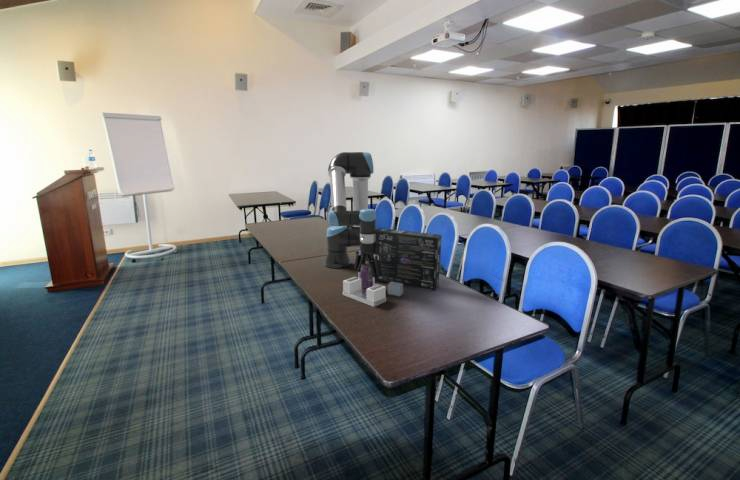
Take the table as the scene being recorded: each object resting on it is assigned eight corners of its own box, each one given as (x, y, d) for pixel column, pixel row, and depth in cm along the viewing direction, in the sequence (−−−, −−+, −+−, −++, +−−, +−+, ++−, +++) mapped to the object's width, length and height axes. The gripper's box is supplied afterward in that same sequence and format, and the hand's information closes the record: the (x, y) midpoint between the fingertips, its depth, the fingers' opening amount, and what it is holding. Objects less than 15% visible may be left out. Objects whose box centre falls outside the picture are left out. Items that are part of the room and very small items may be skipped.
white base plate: (354, 290, 177) (354, 286, 177) (386, 301, 164) (386, 297, 163) (342, 294, 171) (342, 290, 171) (374, 306, 158) (374, 302, 158)
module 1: (354, 286, 176) (354, 275, 175) (361, 288, 173) (361, 277, 172) (343, 290, 171) (342, 279, 170) (349, 293, 168) (349, 281, 167)
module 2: (378, 294, 166) (378, 283, 165) (385, 297, 163) (385, 285, 162) (366, 299, 161) (366, 287, 160) (373, 302, 158) (374, 290, 157)
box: (439, 286, 183) (441, 233, 176) (435, 291, 176) (437, 236, 170) (377, 276, 196) (378, 227, 190) (372, 281, 190) (372, 230, 183)
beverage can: (376, 286, 182) (377, 263, 179) (372, 291, 175) (372, 267, 172) (363, 285, 184) (363, 262, 181) (358, 290, 177) (358, 266, 174)
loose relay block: (391, 291, 176) (391, 281, 175) (402, 293, 173) (402, 283, 172) (387, 294, 173) (387, 284, 171) (399, 296, 170) (399, 286, 169)
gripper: (346, 239, 178) (346, 283, 184) (379, 247, 164) (379, 294, 169) (357, 236, 184) (357, 279, 189) (390, 244, 169) (389, 290, 175)
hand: (367, 286), depth 179 cm, fingers open, 9 cm apart
